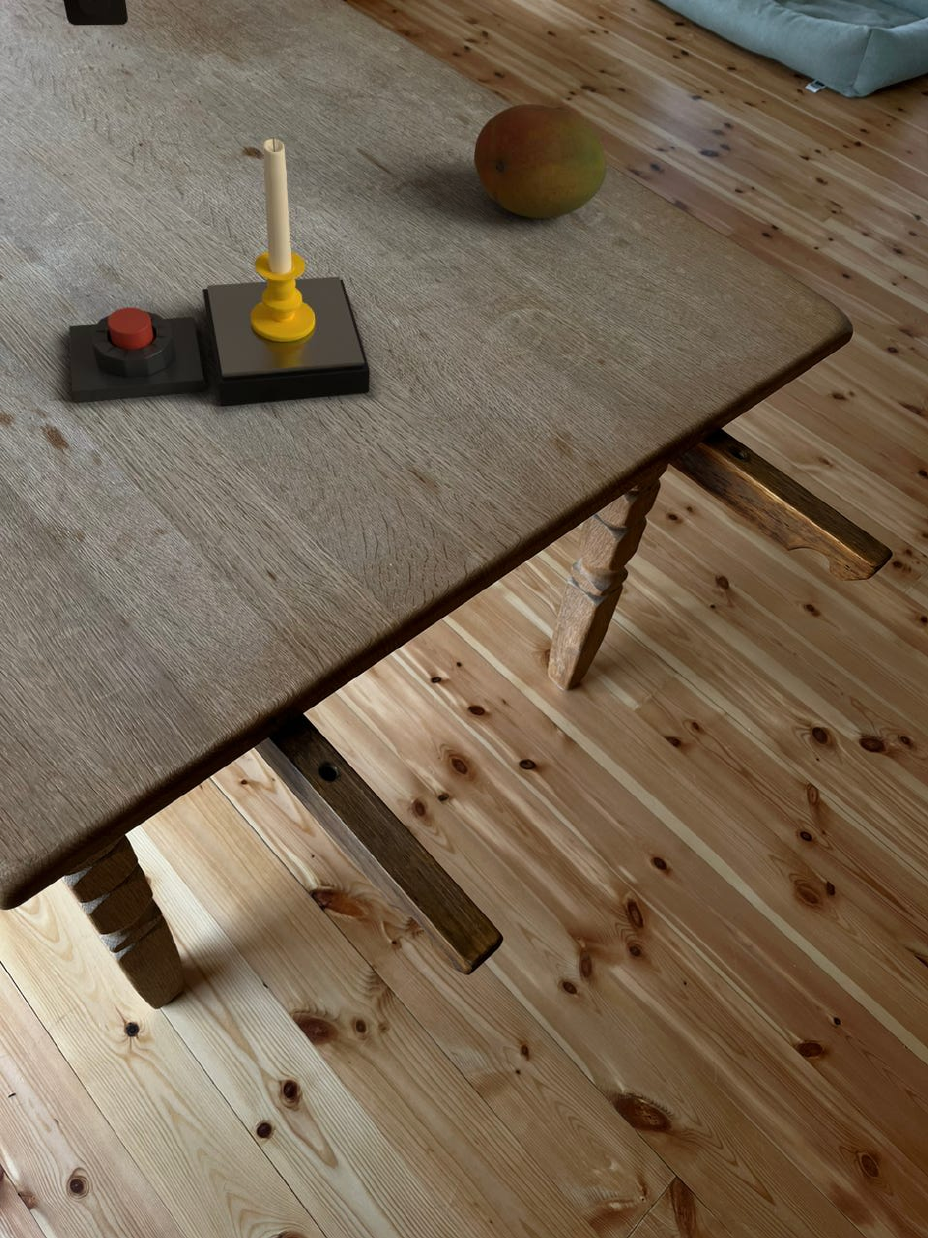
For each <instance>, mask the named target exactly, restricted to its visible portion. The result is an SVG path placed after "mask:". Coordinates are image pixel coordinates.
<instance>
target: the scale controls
mask: <svg viewBox="0 0 928 1238" xmlns="http://www.w3.org/2000/svg"><path fill="white" fill-rule="evenodd" d="M144 311H145V312H146V313H147V314H148V315H149V317H150V321H151V326H152V332H153V340H152V342H151V344H150V345H148V346H146V347H144V348H142V349H135V350H124V349H120V348H118V347H116V346H115V345H114V344H113V342H112V339H111V335H110V330H109V326H108V318H109V316H110V315H111V314H109V315H107V316H104V317H102V318H100V319H99V321H98V322H97V323H91V324H90V323H89V324H79V325H78V324H77V325H69V326H68V334H69V336H68V337H69V355H70V372H71V374H70V376H71V392H72V396H73V399H74V403H76V404H77V403H78V404H79V403H88V402H99V401H111V400H120V399H121V400H122V399H132V398H133V399H134V398H143V397H155V396H165V395H177V394H185V393H186V394H188V393H199V392H206V385H205V384H206V383H205V377H204V370H203V364H202V358H201V351H200V346H199V339H198V333H197V326H196V319H195V316H186V317H172V318H171V317H170V318H163V317H162V316H160V314H158V313H155V312H150V311H147V310H144Z"/></svg>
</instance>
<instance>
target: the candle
mask: <svg viewBox="0 0 928 1238" xmlns="http://www.w3.org/2000/svg"><path fill="white" fill-rule="evenodd" d="M285 149H286V148H285V145H284V143H283V142H282V141H281V140H279V139H276V138H275V137H274V136H273V137H272V138H267V139H266V140H264V141H263V144H262V152H263V153H262V155H263V162H262V163H263V164H262V165H263V183H264V198H265V199H264V200H265V216H266V234H267V236H266V237H267V251H266V252H263V253H261V254H260V255H258V257H257V258H256V259H255V262H254V269H255V271H256V272H257V274H258V275H260V276H261V277H263V278H264V279H266V282H267V287H268V288H267V289H265V291H264V292H263V293H262V302H260V303H259V304H257V305H256V306H255V307H254V309H253V310H252V312H251V315H250V316H251V325H252V327H253V329H254V330H255V331H256V332H257V333H258V334H259V335H261V336H262V337H264V338H266V339H269V340H272V341H279V342H290V341H295V340H298V339H301V338H303V337H305V336H306V335H308V334H309V333H310V332H311V331H312V330H313V328H314V325H315V314H314V312H313V310H312V308H310V307H309V306H308V305H307V304H306V303H304V302H302V295H301V293H300V292H299V291H298V290H297V289H296V288H295V280H296V279H297V278H298V277H300V276H302V275H303V274H304V272H305V270H306V262H305V261H304V259H303V258H302V256H301V255H299V254H297V253H296V252H293V251H291V249H292V248H291V234H290V233H291V230H290V213H289V212H290V211H289V195H288V194H289V193H288V175H287V163H286V162H287V161H286V150H285Z"/></svg>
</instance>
